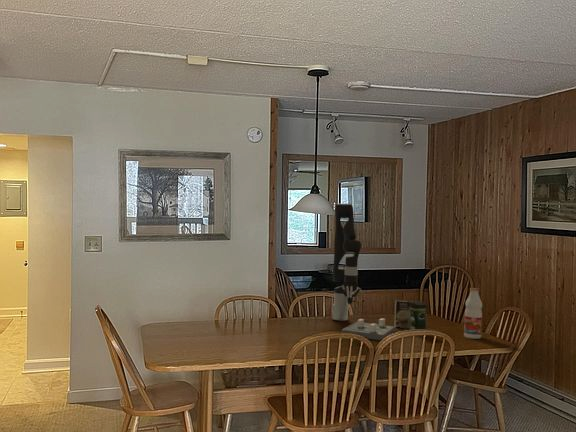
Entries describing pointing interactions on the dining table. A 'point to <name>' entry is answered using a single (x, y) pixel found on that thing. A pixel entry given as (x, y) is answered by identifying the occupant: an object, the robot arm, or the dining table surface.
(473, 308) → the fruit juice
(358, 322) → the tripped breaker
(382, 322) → the breaker far
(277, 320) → the dining table surface
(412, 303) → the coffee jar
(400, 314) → the coffee box
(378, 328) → the grey flat square slab
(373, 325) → the breaker near
